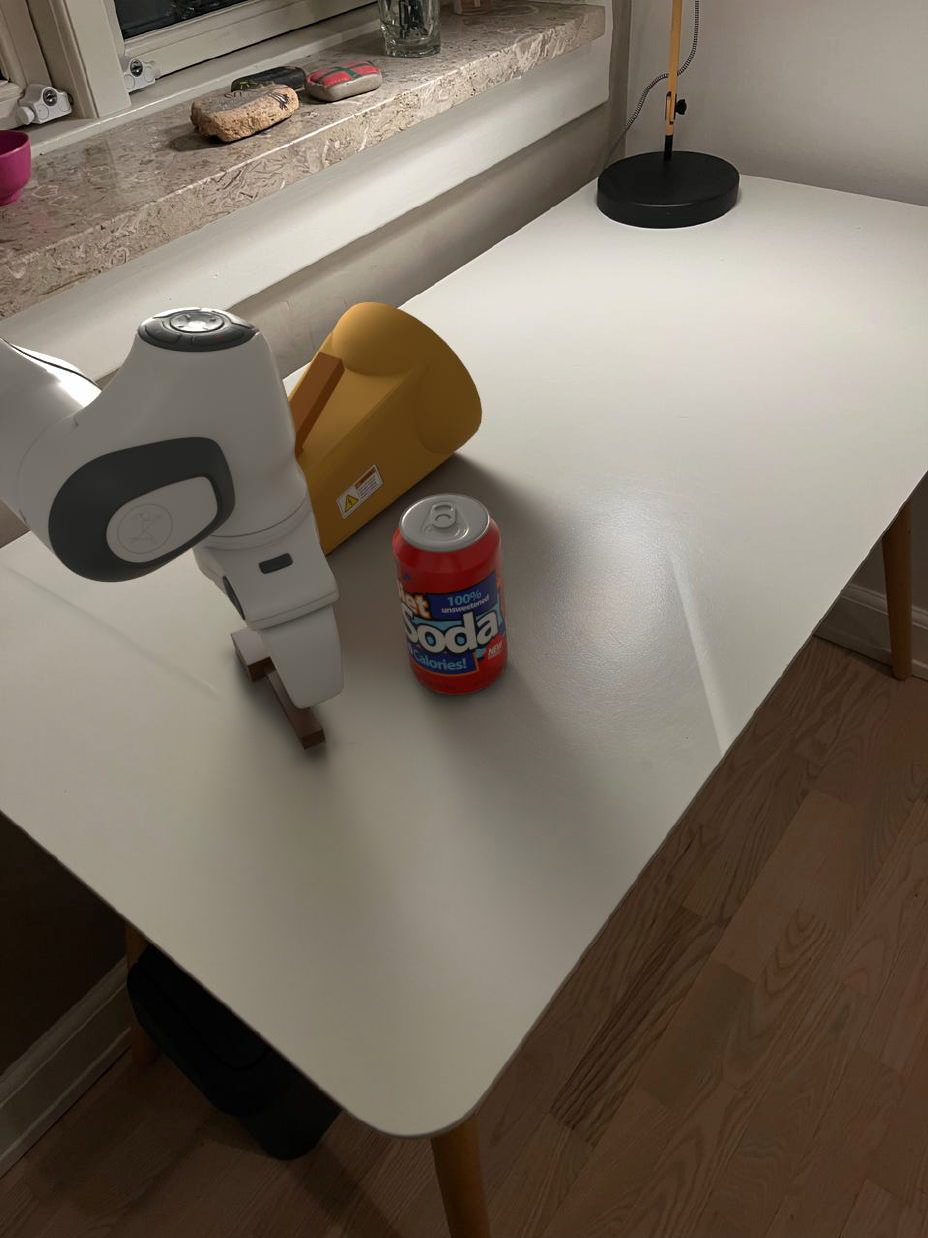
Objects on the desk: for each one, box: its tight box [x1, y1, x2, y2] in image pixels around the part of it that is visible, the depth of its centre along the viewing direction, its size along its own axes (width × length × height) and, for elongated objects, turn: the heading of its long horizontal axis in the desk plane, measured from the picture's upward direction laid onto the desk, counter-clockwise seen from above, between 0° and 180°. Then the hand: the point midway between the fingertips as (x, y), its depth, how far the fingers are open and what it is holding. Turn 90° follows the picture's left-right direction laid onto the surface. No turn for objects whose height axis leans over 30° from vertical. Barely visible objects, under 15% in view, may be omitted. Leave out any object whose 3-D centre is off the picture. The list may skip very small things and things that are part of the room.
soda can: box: [392, 492, 508, 696], centre depth 78 cm, size 8×8×15 cm
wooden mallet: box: [229, 626, 327, 750], centre depth 82 cm, size 13×4×2 cm, turn 28°
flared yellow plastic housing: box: [287, 301, 483, 557], centre depth 96 cm, size 20×17×18 cm
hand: (290, 665), depth 82 cm, fingers closed
